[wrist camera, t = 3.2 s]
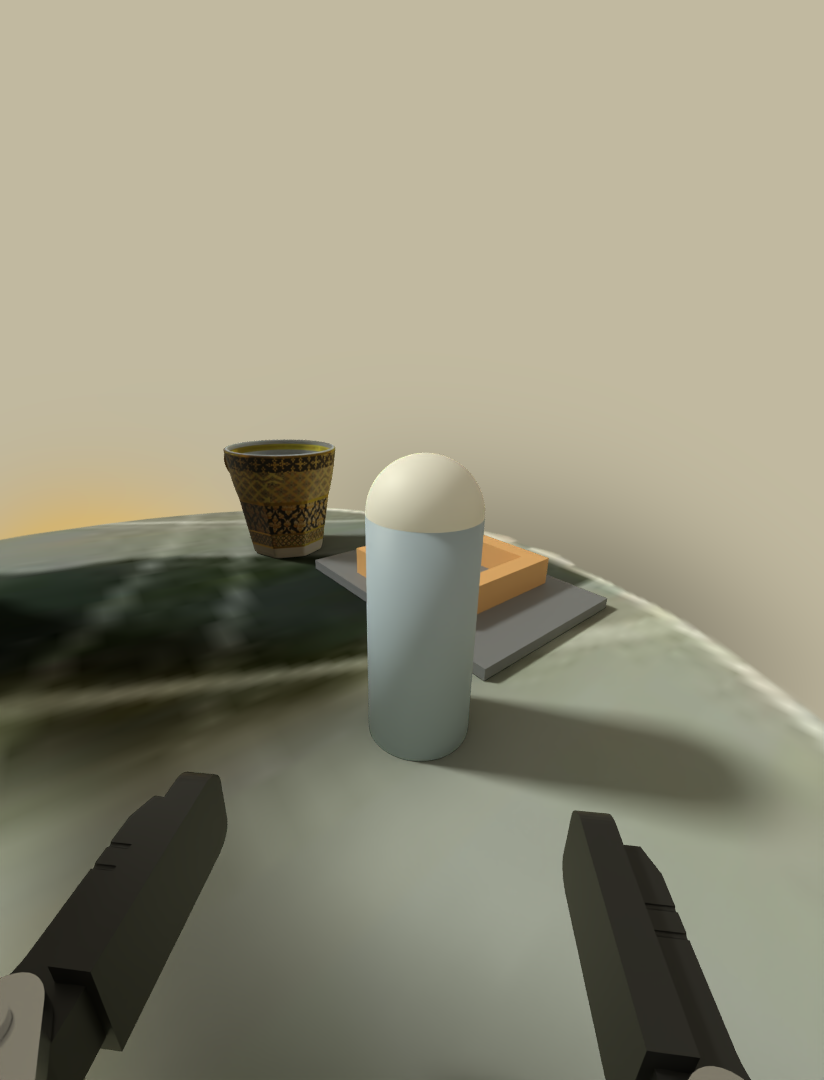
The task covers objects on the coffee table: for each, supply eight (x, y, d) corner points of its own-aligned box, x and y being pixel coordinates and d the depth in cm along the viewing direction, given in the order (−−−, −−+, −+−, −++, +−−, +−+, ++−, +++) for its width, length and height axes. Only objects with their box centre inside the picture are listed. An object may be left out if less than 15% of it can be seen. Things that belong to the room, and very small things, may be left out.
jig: (315, 568, 40) (314, 536, 39) (430, 536, 48) (431, 510, 47) (483, 680, 25) (488, 636, 24) (605, 607, 34) (612, 572, 33)
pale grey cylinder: (349, 715, 23) (340, 450, 18) (422, 676, 26) (431, 441, 21) (412, 780, 19) (420, 471, 14) (488, 726, 22) (516, 456, 17)
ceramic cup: (358, 540, 47) (356, 445, 43) (290, 574, 38) (281, 459, 35) (269, 520, 52) (261, 434, 49) (194, 545, 44) (177, 445, 41)
